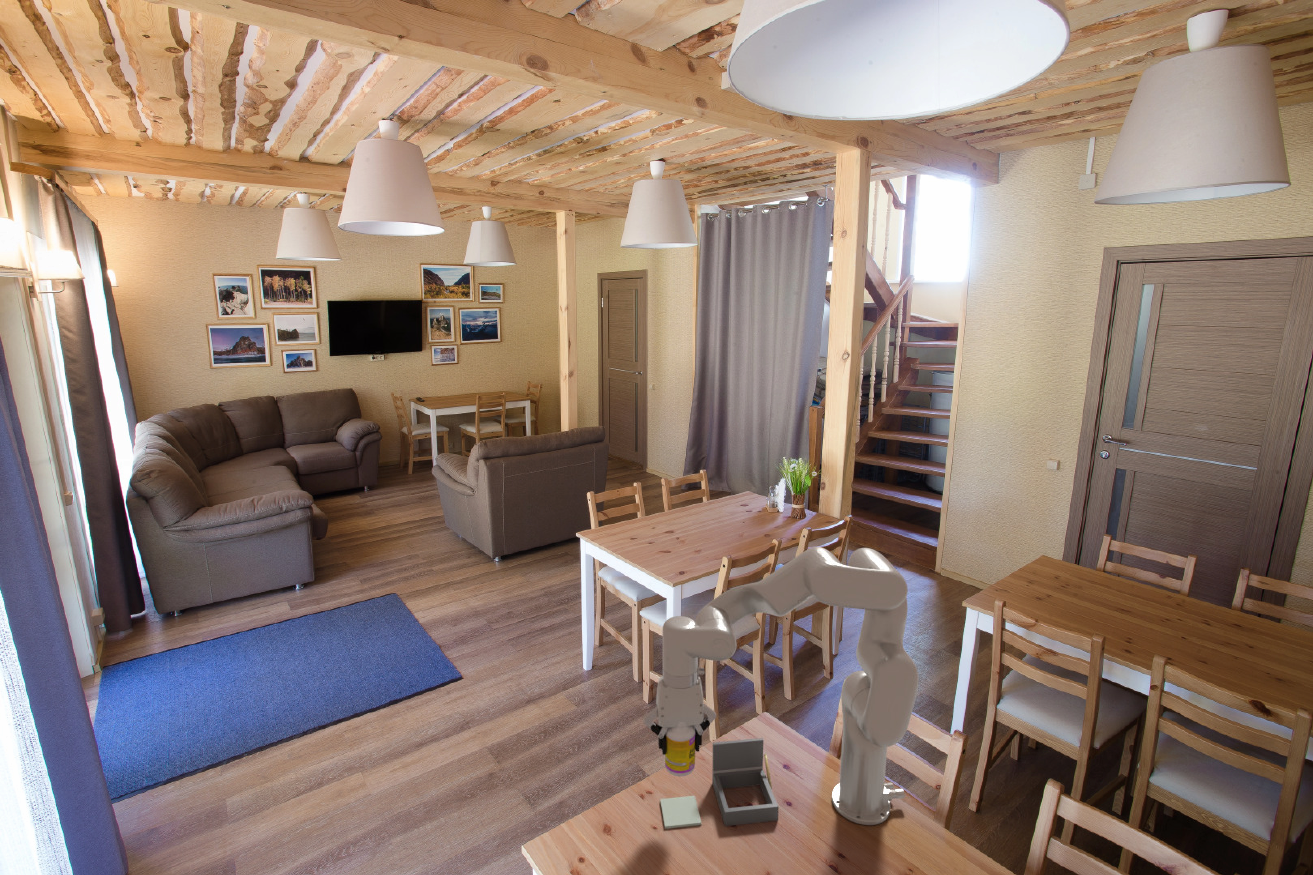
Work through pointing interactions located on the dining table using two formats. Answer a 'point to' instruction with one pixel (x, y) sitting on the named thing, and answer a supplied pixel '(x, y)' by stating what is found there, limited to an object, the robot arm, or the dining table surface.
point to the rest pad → (680, 812)
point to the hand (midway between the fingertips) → (680, 748)
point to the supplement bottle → (680, 749)
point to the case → (742, 780)
